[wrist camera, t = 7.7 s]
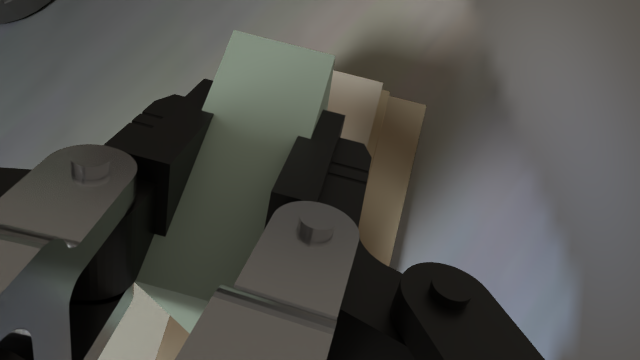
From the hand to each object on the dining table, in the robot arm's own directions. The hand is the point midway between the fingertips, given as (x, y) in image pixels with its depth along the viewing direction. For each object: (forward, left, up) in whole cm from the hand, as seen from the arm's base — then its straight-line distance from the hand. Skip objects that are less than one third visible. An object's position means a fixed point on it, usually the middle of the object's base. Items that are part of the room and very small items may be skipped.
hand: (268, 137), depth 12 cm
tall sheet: (+3, -2, -12) cm, 12 cm away
